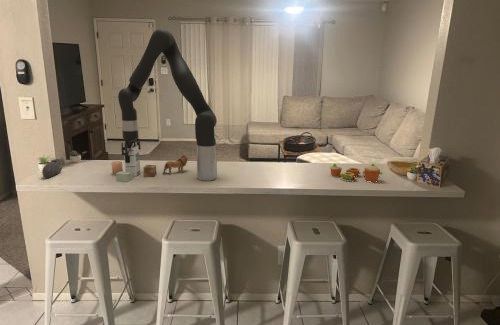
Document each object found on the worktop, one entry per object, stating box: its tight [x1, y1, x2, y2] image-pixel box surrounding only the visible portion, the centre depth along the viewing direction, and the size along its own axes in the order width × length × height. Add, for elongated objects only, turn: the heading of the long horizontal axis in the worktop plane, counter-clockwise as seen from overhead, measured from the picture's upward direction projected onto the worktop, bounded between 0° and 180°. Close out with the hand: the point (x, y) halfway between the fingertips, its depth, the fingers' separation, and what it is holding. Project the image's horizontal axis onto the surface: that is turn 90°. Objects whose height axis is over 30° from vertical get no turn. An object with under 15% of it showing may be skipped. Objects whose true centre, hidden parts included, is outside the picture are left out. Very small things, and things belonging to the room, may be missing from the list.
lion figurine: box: [162, 154, 188, 175], centre depth 186 cm, size 15×5×9 cm, turn 131°
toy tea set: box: [329, 162, 383, 183], centre depth 185 cm, size 26×16×10 cm, turn 88°
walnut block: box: [142, 164, 157, 178], centre depth 181 cm, size 5×5×5 cm
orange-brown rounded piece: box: [111, 160, 124, 176], centre depth 182 cm, size 5×5×6 cm
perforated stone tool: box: [41, 158, 63, 179], centre depth 177 cm, size 15×5×7 cm, turn 179°
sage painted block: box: [115, 170, 133, 183], centre depth 172 cm, size 6×4×4 cm, turn 80°
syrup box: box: [123, 146, 141, 177], centre depth 181 cm, size 6×6×14 cm
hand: (132, 160), depth 181 cm, fingers open, 8 cm apart
